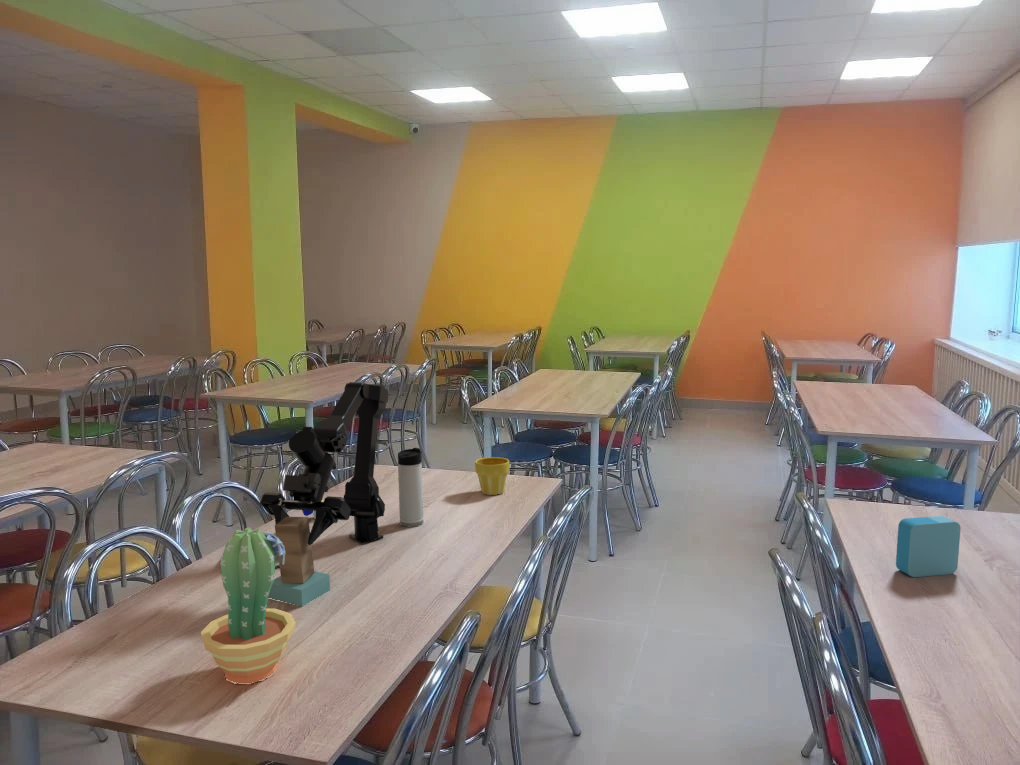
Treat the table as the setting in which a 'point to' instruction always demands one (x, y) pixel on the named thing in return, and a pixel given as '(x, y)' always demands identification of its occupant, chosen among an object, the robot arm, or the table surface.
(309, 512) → the dice
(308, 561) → the walnut block
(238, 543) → the potted cactus
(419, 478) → the travel mug
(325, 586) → the teal base block
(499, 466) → the plant pot
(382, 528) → the table surface
